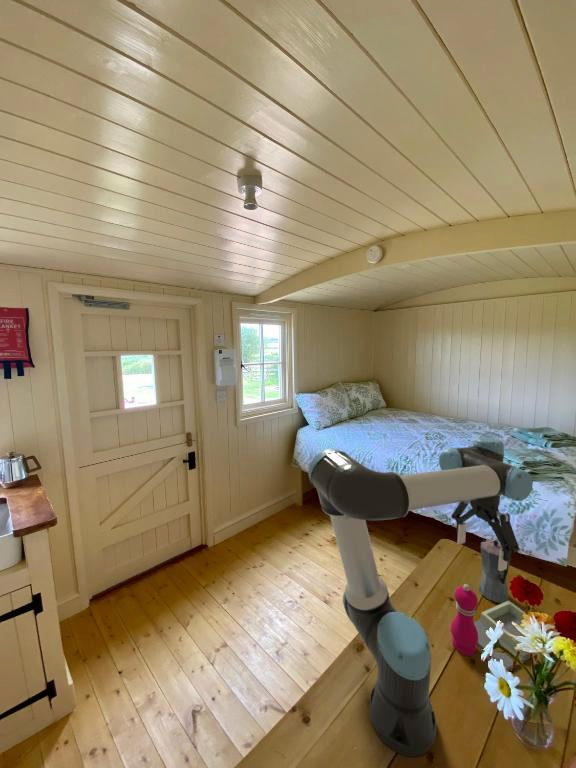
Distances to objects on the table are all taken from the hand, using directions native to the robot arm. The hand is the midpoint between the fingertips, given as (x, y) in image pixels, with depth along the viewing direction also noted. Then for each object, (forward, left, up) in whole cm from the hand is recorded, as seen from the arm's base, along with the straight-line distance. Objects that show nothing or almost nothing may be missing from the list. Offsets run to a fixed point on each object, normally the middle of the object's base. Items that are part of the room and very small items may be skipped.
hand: (480, 555), depth 99 cm
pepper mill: (-9, -3, -25) cm, 27 cm away
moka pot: (+18, +7, -25) cm, 32 cm away
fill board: (+5, -6, -25) cm, 26 cm away
